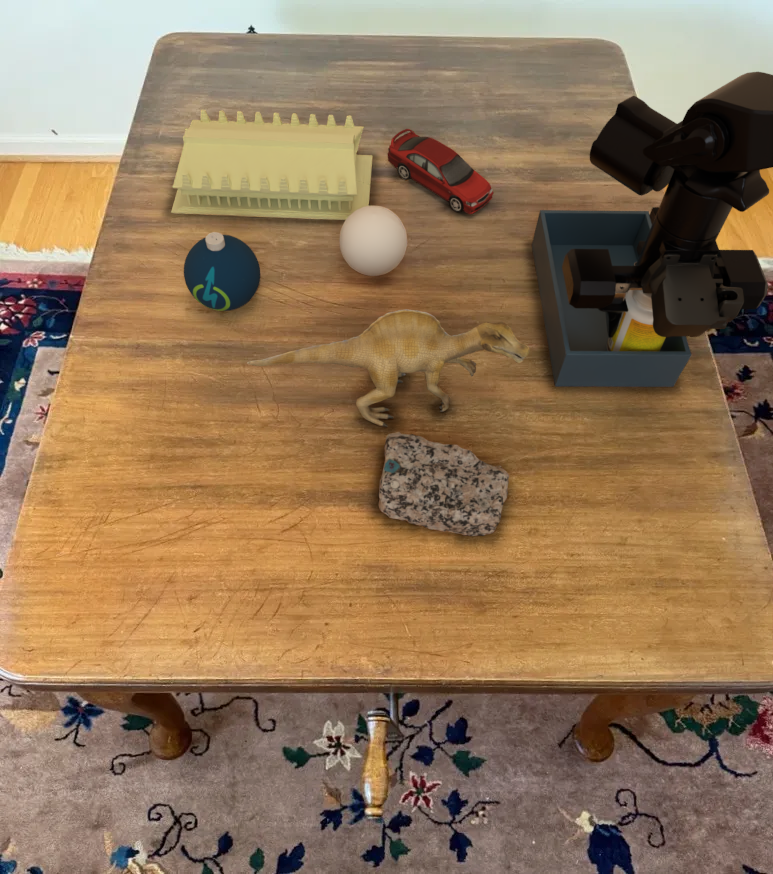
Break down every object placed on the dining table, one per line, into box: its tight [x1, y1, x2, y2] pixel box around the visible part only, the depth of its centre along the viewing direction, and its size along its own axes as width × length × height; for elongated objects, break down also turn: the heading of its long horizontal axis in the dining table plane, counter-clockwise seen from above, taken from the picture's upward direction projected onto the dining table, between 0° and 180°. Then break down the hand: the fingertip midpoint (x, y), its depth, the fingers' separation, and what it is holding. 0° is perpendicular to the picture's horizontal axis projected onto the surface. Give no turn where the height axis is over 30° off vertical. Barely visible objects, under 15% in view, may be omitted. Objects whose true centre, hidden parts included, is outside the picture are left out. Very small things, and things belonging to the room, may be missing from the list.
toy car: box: [386, 128, 495, 215], centre depth 96 cm, size 6×15×5 cm, turn 44°
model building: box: [170, 109, 373, 221], centre depth 95 cm, size 25×14×7 cm, turn 88°
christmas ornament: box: [183, 231, 261, 312], centre depth 83 cm, size 8×8×10 cm
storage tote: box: [531, 209, 692, 388], centre depth 85 cm, size 22×13×6 cm, turn 1°
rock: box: [378, 431, 510, 537], centre depth 71 cm, size 13×9×4 cm
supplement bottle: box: [607, 290, 666, 351], centre depth 78 cm, size 6×6×10 cm
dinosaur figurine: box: [246, 308, 530, 428], centre depth 74 cm, size 8×26×13 cm, turn 97°
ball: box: [338, 205, 408, 277], centre depth 87 cm, size 8×8×8 cm
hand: (637, 334), depth 80 cm, fingers closed on supplement bottle, 6 cm apart
